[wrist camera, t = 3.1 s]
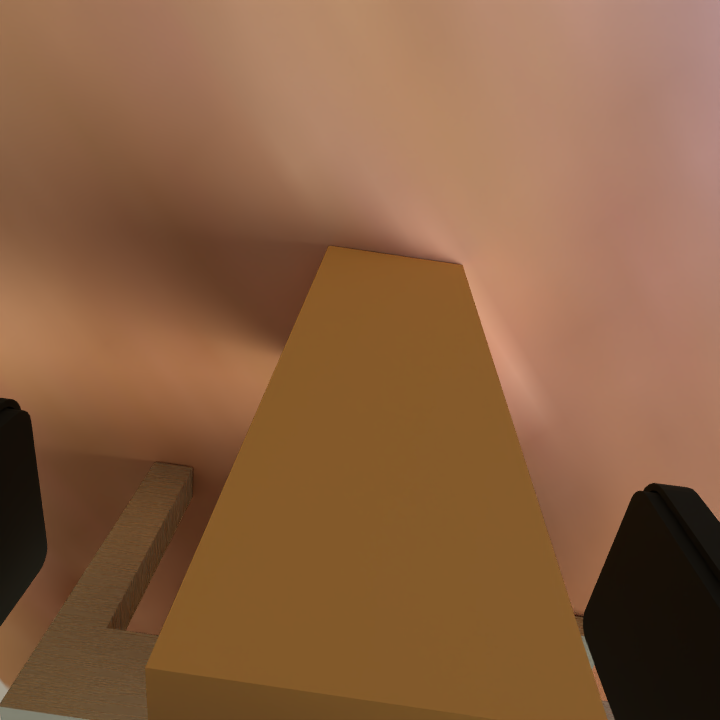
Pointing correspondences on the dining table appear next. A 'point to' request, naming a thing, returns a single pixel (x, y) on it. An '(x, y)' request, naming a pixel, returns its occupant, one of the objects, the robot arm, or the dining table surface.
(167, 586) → the dining table surface
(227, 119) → the dining table surface
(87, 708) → the grey metal piece
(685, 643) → the robot arm
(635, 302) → the dining table surface
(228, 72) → the dining table surface
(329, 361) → the mustard rectangular block
